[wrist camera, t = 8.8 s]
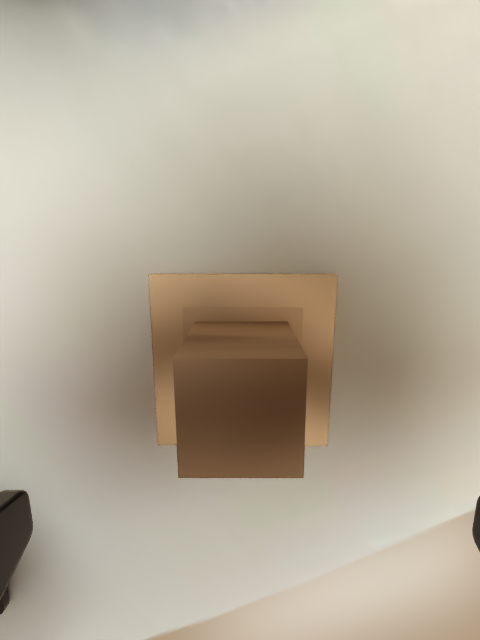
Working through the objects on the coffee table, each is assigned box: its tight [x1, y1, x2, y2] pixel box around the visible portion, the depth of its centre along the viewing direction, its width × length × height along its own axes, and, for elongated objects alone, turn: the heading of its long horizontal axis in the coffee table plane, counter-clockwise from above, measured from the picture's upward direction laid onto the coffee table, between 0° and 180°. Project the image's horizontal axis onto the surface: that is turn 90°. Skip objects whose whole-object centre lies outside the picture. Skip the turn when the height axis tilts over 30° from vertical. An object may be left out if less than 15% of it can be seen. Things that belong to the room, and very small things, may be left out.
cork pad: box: [149, 274, 337, 446], centre depth 16 cm, size 8×8×1 cm
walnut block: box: [173, 321, 308, 478], centre depth 13 cm, size 4×4×5 cm
